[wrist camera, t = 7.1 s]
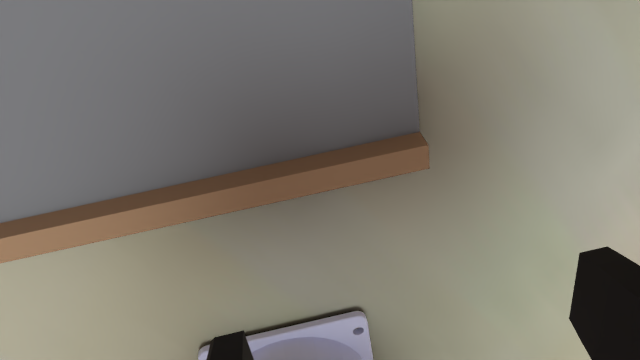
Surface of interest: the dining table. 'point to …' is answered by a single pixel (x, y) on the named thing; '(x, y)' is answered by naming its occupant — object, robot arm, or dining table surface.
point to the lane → (194, 110)
